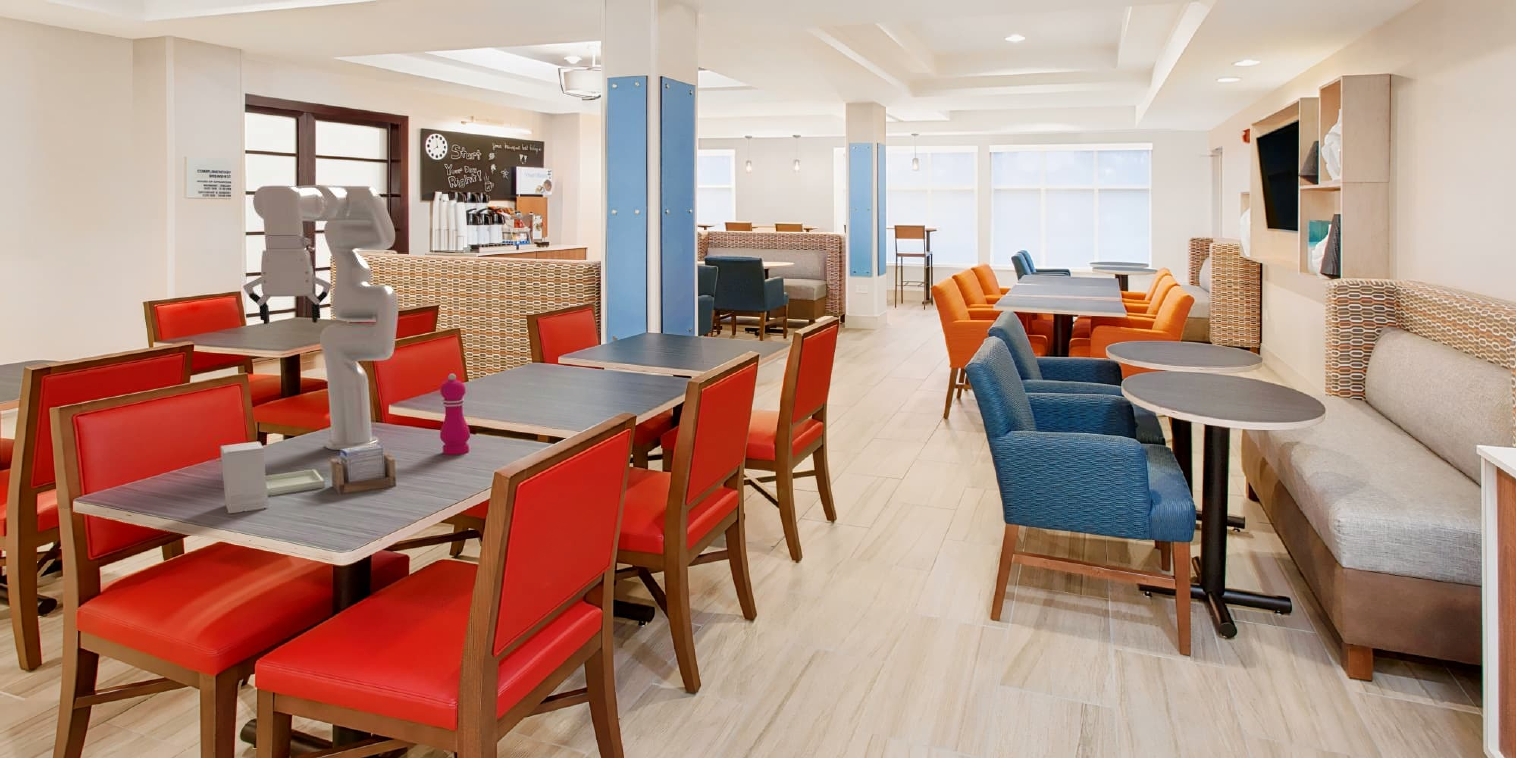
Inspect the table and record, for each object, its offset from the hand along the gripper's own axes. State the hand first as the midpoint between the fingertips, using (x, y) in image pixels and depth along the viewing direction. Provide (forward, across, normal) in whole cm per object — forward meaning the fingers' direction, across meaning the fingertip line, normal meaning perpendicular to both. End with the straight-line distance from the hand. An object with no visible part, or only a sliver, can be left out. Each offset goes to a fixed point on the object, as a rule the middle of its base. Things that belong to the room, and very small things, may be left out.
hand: (291, 322), depth 205 cm
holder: (+36, -13, +10) cm, 39 cm away
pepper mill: (+36, -33, -16) cm, 51 cm away
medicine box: (+36, -13, +10) cm, 39 cm away
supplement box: (+36, +8, +18) cm, 41 cm away
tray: (+36, +2, +5) cm, 36 cm away
